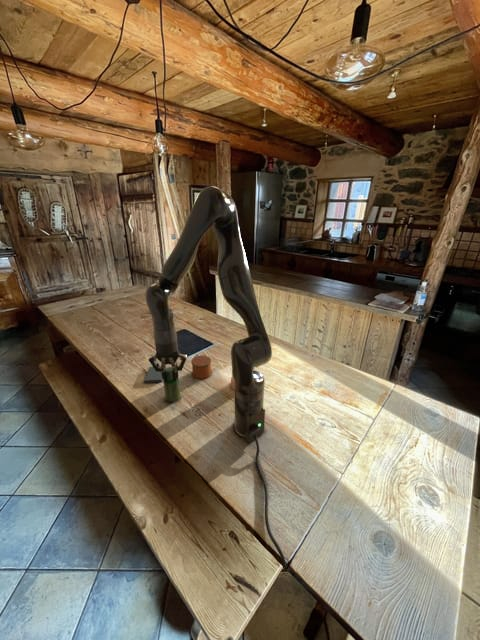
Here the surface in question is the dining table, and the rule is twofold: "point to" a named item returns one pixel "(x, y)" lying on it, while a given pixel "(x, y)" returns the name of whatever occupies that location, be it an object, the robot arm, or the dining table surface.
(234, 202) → the robot arm
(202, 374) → the copper tin
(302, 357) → the dining table surface
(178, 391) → the green bottle
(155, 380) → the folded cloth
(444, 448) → the dining table surface
